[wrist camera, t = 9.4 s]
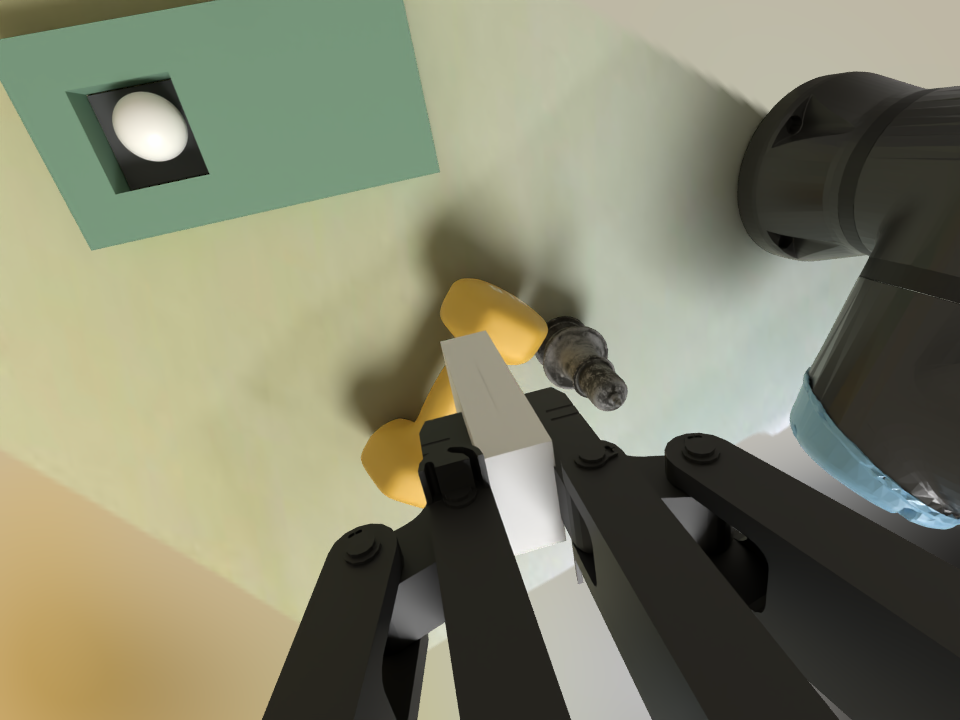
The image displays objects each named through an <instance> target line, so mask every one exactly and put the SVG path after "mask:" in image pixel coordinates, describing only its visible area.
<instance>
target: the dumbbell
mask: <svg viewBox="0 0 960 720" xmlns="http://www.w3.org/2000/svg"><path fill="white" fill-rule="evenodd" d="M440 316H441V320H442V321H443V323H444V325H445V326H446V327H447V328H448V329H449V331H450V332H451V333H452V334H453V336H454V337H455V338H457V337H461V336H465V335H469V334H473V333H477V332H481V331H485V330H486V332H487V333H488V335H489V337H490V338H491V340H492V342H493V343H494V345H495V347H496V348H497V350H498V352H499V353H500V355H501V357H502V358H503V360H504V362H505V363H506V364H507V365H519V364H523V363H526V362H527V361H529V360H530V359H531V358H532V357H533V356H534V355H535V353H536V352H537V350H538V349H539V347H540V346H541V344H542V342H543V341H544V339H545V338H546V336H547V333H548V327H547V324H546V322H545V321H544V320H543V318H542V317H541V316H540V315H539V314H538V313H537V312H535V311H534V310H533V309H532V308H531V307H529V306H528V305H527V304H526V303H524V302H523V301H521V300H520V299H518V298H517V297H515V296H514V295H512V294H510V293H509V292H507V291H505V290H503V289H501V288H499V287H497V286H495V285H493V284H490V283H488V282H485V281H483V280H479V279H472V278H464V279H460V280H457V281H456V282H454V283H453V285H452V286H451V288H450V289H449V291H448V293H447V295H446V297H445V299H444V301H443V303H442V306H441V310H440ZM455 413H457V411H456V407H455V403H454V399H453V394H452V390H451V386H450V382H449V377H448V373H447V369H446V365H445V366H444V368H443V369H442V371H441V373H440V374H439V376H438V378H437V379H436V381H435V383H434V385H433V386H432V388H431V390H430V392H429V394H428V396H427V398H426V400H425V402H424V404H423V406H422V409H421V411H420V414H419V416H418V418H417V420H416V421H415V422H413V421H410V420H406V419H395V420H392V421H390V422H388V423H386V424H385V425H383V426H382V427H380V428H379V429H378V430H377V431H375V432H374V433H373V435H372V436H371V437H370V439H369V440H368V442H367V444H366V446H365V448H364V450H363V452H362V455H361V461H362V464H363V466H364V468H365V470H366V471H367V473H368V474H369V476H370V477H371V479H372V480H373V481H374V483H375V484H376V486H377V487H378V488H379V490H380V491H381V492H382V493H383V494H385V495H386V496H387V497H389V498H391V499H394V500H396V501H399V502H403V503H406V504H409V505H412V506H416V507H419V508H424V507H425V506H426V503H427V502H426V499H425V495H424V492H423V488H422V485H421V481H420V478H419V475H418V468H419V463H420V462H421V461H422V460H423V456H422V450H421V443H420V437H419V432H420V430H421V428H422V426H423V424H424V422H425V421H428V420H432V419H436V418H439V417H443V416H447V415H451V414H455Z"/></svg>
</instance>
